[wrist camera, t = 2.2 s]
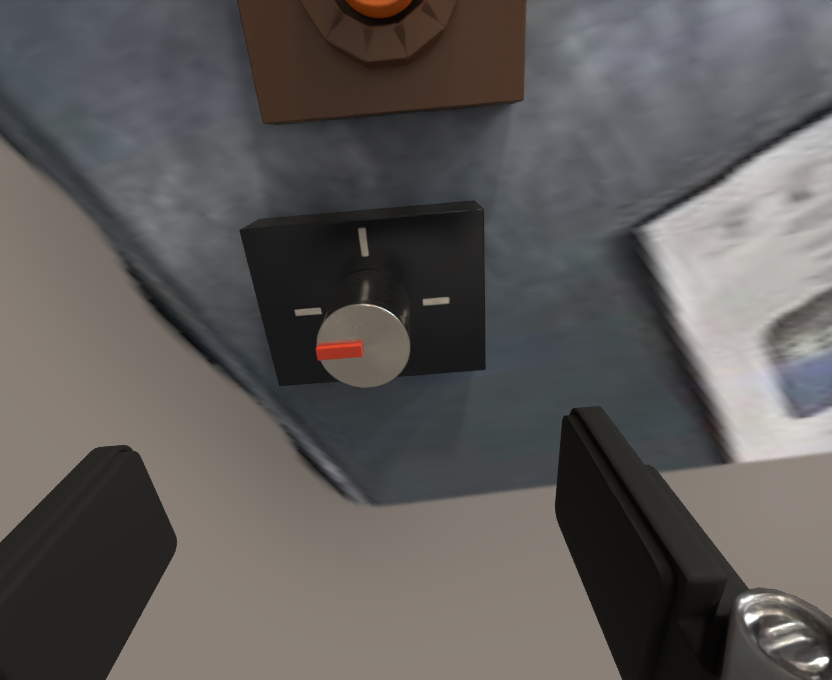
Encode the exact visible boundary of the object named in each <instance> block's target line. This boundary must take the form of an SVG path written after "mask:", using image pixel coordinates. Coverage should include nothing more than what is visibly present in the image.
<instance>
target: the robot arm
mask: <svg viewBox="0 0 832 680" xmlns="http://www.w3.org/2000/svg"><path fill="white" fill-rule="evenodd" d="M555 512H556V518H557V521H558V524H559V527H560V529H561V531H562V534H563V536H564V539H565V541H566V544H567V546H568V548H569V551H570V553H571V556H572V558H573V561H574V563H575V565H576V568H577V570H578V573H579V575H580V578H581V580H582V583H583V585H584V587H585V590H586V592H587V595H588V597H589V600H590V602H591V605H592V607H593V610H594V612H595V614H596V617H597V619H598V622H599V624H600V626H601V629H602V631H603V634H604V636H605V639H606V641H607V644H608V646H609V649H610V651H611V653H612V656H613V658H614V661H615V663H616V665H617V668H618V671H619V673H620V675H621V678H622V680H832V618H831V617H829V616H828V615H826V614H825V613H824V612H823V611H821V610H820V609H818V608H817V607H816V606H814V605H812V604H810V603H808V602H806V601H804V600H802V599H800V598H799V597H797V596H794V595H791V594H788V593H785V592H782V591H779V590H775V589H767V588H754V589H748V587H747V586H746V585H745V583H744V582H743V581H742V580H741V578H740V577H739V576H738V574H737V573H736V572H735V571H734V569H733V568H732V567H731V565H730V564H729V563H728V562H727V561H726V559H725V558H724V556H723V555H722V554H721V552H720V551H719V550H718V549H717V547H716V546H715V545H714V543H713V542H712V541H711V540H710V538H709V537H708V536H707V535H706V533H705V532H704V531H703V529H702V528H701V527H700V525H699V524H698V523H697V522H696V520H695V519H694V518H693V516H692V515H691V514H690V512H689V511H688V510H687V509H686V507H685V506H684V505H683V504H682V502H681V501H680V500H679V498H678V497H677V496H676V494H675V493H674V492H673V491H672V489H671V488H670V487H669V485H668V484H667V483H666V481H665V480H664V479H663V478H662V476H661V475H660V474H659V473H658V471H657V470H656V469H655V468H654V467H652V466H650V465H644V463H643V462H642V461H641V459H640V458H639V457H638V455H637V454H636V453H635V451H634V450H633V449H632V447H631V446H630V445H629V443H628V442H627V441H626V439H625V438H624V437H623V435H622V434H621V433H620V431H619V430H618V429H617V427H616V426H615V425H614V423H613V422H612V421H611V419H610V418H609V417H608V415H607V414H606V413H605V411H604V410H603V409H602V408H601V407H599V406H595V407H583V408H573V409H572V410H571V412H570V415H568V416H564V417H563V420H562V430H561V441H560V453H559V465H558V476H557V488H556V500H555ZM176 546H177V538H176V535H175V533H174V530H173V528H172V526H171V524H170V521H169V519H168V517H167V515H166V513H165V510H164V508H163V506H162V503H161V501H160V499H159V497H158V494H157V492H156V490H155V488H154V486H153V483H152V481H151V479H150V477H149V474H148V472H147V470H146V468H145V465H144V463H143V461H142V459H141V457H140V455H139V453H137V452H136V451H133V450H132V448H130V447H129V446H126V445H118V446H106V447H98V448H95V449H93V450H92V451H91V452H90V453H89V454H88V455H87V456H86V457H85V458H84V459H83V460H82V461H81V462H80V463H79V464H78V465H77V466H76V467H75V468H74V469H73V470H72V471H71V472H70V473H69V474H68V475H67V476H66V477H65V478H64V479H63V480H62V481H61V482H60V483H59V484H58V485H57V486H56V487H55V488H54V489H53V490H52V491H51V492H50V493H49V494H48V495H47V496H46V497H45V498H44V499H43V500H42V501H41V502H40V503H39V504H38V505H37V506H36V507H35V508H34V509H33V510H32V511H31V512H30V513H29V514H28V515H27V516H26V517H25V518H24V519H23V520H22V521H21V523H19V524H18V525H17V526H16V527H15V528H14V529H13V530H12V531H11V532H10V533H9V534H8V535H7V536H6V537H5V538H4V539H3V540H2V541H1V542H0V680H106V678H107V676H108V674H109V673H110V671H111V669H112V667H113V665H114V663H115V661H116V660H117V658H118V656H119V654H120V652H121V650H122V649H123V647H124V645H125V643H126V641H127V640H128V638H129V636H130V634H131V632H132V630H133V629H134V627H135V625H136V623H137V621H138V619H139V618H140V616H141V614H142V612H143V610H144V608H145V607H146V605H147V603H148V601H149V599H150V597H151V595H152V594H153V592H154V590H155V588H156V587H157V585H158V583H159V581H160V579H161V577H162V575H163V574H164V572H165V570H166V568H167V566H168V564H169V562H170V561H171V559H172V557H173V555H174V553H175V551H176Z"/></svg>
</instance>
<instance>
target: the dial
mask: <svg viewBox="0 0 832 680" xmlns="http://www.w3.org/2000/svg"><path fill="white" fill-rule="evenodd" d="M316 346H317V347H316V354H317V359H318V361H319V360H320V361H321V363H322V364H323V366H324V367H325V369H326V370H327V371H328V372H329V373H330V374H331V375H332V376H333V377H335V378H336V379H337V380H339V381H341V382H343V383H345V384H348V385H351V386H355V387H362V388H368V387H376V386H380V385H383V384H385V383H387V382H389V381H391V380H393V379H394V378H395V377H397V376H398V375H399V374H400V373H401V371H402V370H403V369H404V367H405V366H406V364H407V362H408V359H409V355H410V302H409V297H408V294H407V292H406V290H405V288H404V287H403V285H402V284H401V283H400V282H399V281H398V280H397V279H396V278H394V277H393V276H392V275H390V274H388V273H385V272H383V271H378V270H363V271H359V272H356V273H354V274H352V275H350V276H349V277H347V278H346V279H345V280H344V281H343V282H342V283H341V284H340V286H339V287H338V289H337V291H336V294H335V296H334V298H333V300H332V302H331V305H330V307H329V309H328V311H327V313H326V316H325V318H324V320H323V322H322V324H321V327H320V329H319V332H318V335H317V343H316Z"/></svg>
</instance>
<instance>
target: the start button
mask: <svg viewBox="0 0 832 680" xmlns="http://www.w3.org/2000/svg"><path fill="white" fill-rule="evenodd" d="M345 1H346V2H347V3H348V4H349V5H350V6H351V7H352V8H353V9H354V10H356V11H357V12H359V13H360V14H362V15H364V16H367V17H370V18H377V19H383V18H389V17H392V16H395V15H397V14H398V13H400V12H402V11H403V10H404V9H406V8H407V7H408V6H409V5H410V4H411V2H412V1H413V0H345Z"/></svg>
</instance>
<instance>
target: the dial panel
mask: <svg viewBox="0 0 832 680" xmlns="http://www.w3.org/2000/svg"><path fill="white" fill-rule="evenodd" d="M240 234H241V238H242V242H243V246H244V250H245V254H246V258H247V262H248V266H249V269H250V273H251V277H252V281H253V285H254V289H255V293H256V297H257V301H258V305H259V309H260V312H261V316H262V320H263V324H264V328H265V332H266V336H267V340H268V344H269V348H270V352H271V356H272V359H273V363H274V367H275V371H276V375H277V379H278V383H279V386H286V385H299V384H311V383H324V382H337V381H339V380H337V379H336V378H335V377H333V376H332V375H331V374H330V373H329V372H328V371H327V370H326V369H325V367H324V366H323V364H322V363H321V361H320V360H319V361H318V359H317V354H316V347H317V346H316V343H317V335H318V332H319V329H320V327H321V324H322V322H323V320H324V318H325V316H326V313H327V311H328V309H329V307H330V305H331V302H332V300H333V298H334V296H335V294H336V291H337V289H338V287H339V286H340V284H341V283H342V282H343V281H344V280H345V279H346V278H347V277H349V276H350V275H352V274H354V273H356V272H359V271H363V270H378V271H383V272H385V273H388V274H390V275H392V276H393V277H394V278H396V279H397V280H398V281H399V282H400V283H401V284H402V285H403V287H404V288H405V290H406V292H407V294H408V297H409V302H410V355H409V359H408V362H407V364H406V366H405V367H404V369H403V370H402V371H401V373H400V374H399V375H398V376H397V377H400V376H413V375H425V374H438V373H451V372H463V371H476V370H485V369H486V364H485V274H484V209H483V208H482V207H481V206H480V205H479V204H478V203H477V202H476V201H464V202H452V203H441V204H429V205H417V206H406V207H394V208H382V209H371V210H359V211H347V212H336V213H324V214H313V215H301V216H289V217H278V218H266V219H258V220H256V221H255V222H253V223H251V224H249V225H247V226H246V227H244V228H242V229H240Z"/></svg>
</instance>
